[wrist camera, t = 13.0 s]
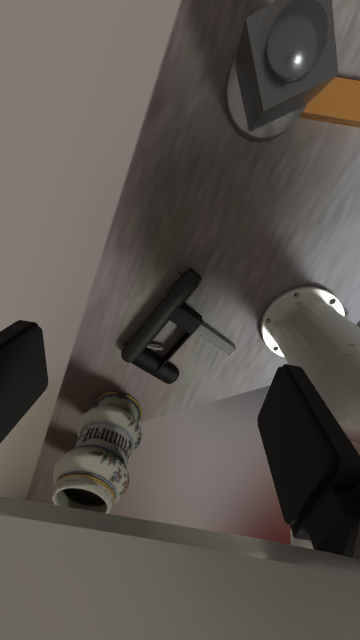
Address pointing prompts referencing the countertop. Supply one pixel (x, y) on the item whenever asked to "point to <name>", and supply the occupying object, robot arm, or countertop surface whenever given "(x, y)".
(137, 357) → the door handle
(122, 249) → the countertop surface
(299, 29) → the socket
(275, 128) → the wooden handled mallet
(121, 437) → the apothecary jar
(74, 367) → the countertop surface
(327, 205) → the countertop surface
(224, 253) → the countertop surface
